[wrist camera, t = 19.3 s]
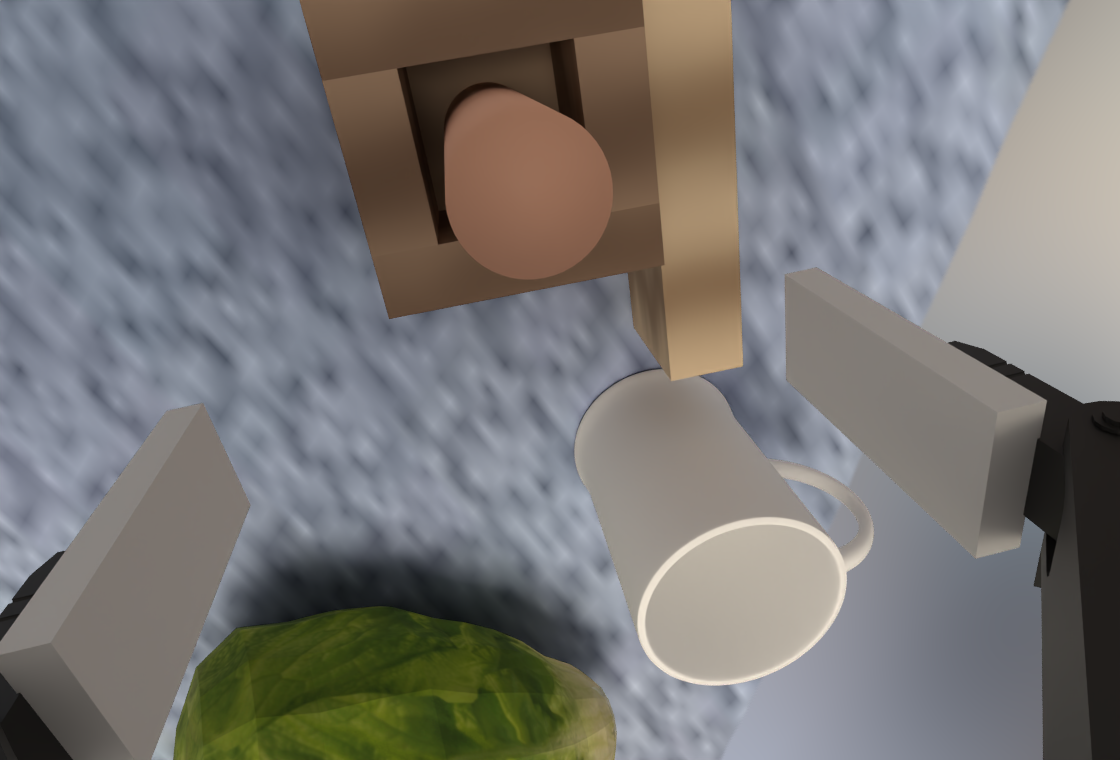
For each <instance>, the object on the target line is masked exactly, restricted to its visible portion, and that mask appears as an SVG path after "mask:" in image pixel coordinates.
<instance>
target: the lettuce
mask: <svg viewBox="0 0 1120 760" xmlns="http://www.w3.org/2000/svg"><path fill="white" fill-rule="evenodd" d="M616 735H617V731H616V725H615V718H614V714H613V711H612V708H611V705H610V703H609V700H608V698H607V697H606V695H605V693H604V692H603V690H602V688H601V687H600V686H599V685H597V684H596V683H595V682H594V681H593V680H592V679H590V678H589V677H588V676H587V675H585V674H584V673H583V672H582V671H580V670H578V669H577V668H575V667H574V666H572V665H570V664H568V663H565V662H562V661H559V660H555V659H552V658H549V657H546V656H543V655H542V654H540V653H539V652H537V651H536V650H534V649H533V648H531V647H530V646H528V645H527V644H525V643H524V642H522V641H520V640H518V639H515V638H513V637H511V636H508V635H506V634H503V633H501V632H499V631H496V630H494V629H490V628H486V627H482V626H478V625H473V624H469V623H465V622H458V621H451V620H444V619H437V618H432V617H428V616H424V615H421V614H417V613H413V612H409V611H406V610H402V609H398V608H394V607H387V606H373V607H363V608H353V609H343V610H333V611H329V612H325V613H321V614H317V615H313V616H309V617H305V618H301V619H297V620H293V621H288V622H282V623H273V624H265V625H256V626H248V627H240V628H236V629H235V630H234V631H233V632H232V633H231V634H230V635H229V636H228V637H227V638H226V639H225V640H224V641H223V642H222V643H221V644H220V645H219V646H218V647H217V648H215V649H214V650H213V651H212V652H211V653H210V654H209V655H208V656H207V657H206V658H205V659H204V660H203V661H202V662H201V663H200V664H199V665H198V666H197V667H196V669H195V673H194V676H193V679H192V682H191V685H190V688H189V691H188V694H187V697H186V700H185V703H184V706H183V709H182V712H181V715H180V719H179V722H178V725H177V728H176V737H175V747H174V758H173V760H614V758H615V749H616Z"/></svg>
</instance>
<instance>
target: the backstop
mask: <svg viewBox="0 0 1120 760" xmlns="http://www.w3.org/2000/svg"><path fill="white" fill-rule="evenodd" d="M642 2H643V14H644V25H645V37H646V49H647V61H648V73H649V85H650V97H651V109H652V120H653V132H654V144H655V156H656V168H657V180H658V192H659V204H660V215H661V227H662V239H663V251H664V263H665V265H663V266H658V267H652V268H647V269H642V270H637V271H632V272H628V279H629V288H630V297H631V306H632V315H633V325H634V329H635V330H636V331H637V333H638V334H639V336H640V337H641V339H642V340H643V341H644V343H645V344H646V346H647V347H648V349H649V350H650V352H651V353H652V354H653V356H654V357H655V359H656V360H657V362H658V363H659V364H660V366H661V367H662V369H663V370H664V372H665V373H666V375H667V376H668V377H669V379H670V380H671V381H675V380H679V379H684V378H689V377H694V376H699V375H703V374H708V373H713V372H718V371H723V370H727V369H732V368H737V367H742V366H743V352H742V322H741V292H740V262H739V232H738V202H737V172H736V142H735V112H734V82H733V52H732V22H731V0H642Z"/></svg>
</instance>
